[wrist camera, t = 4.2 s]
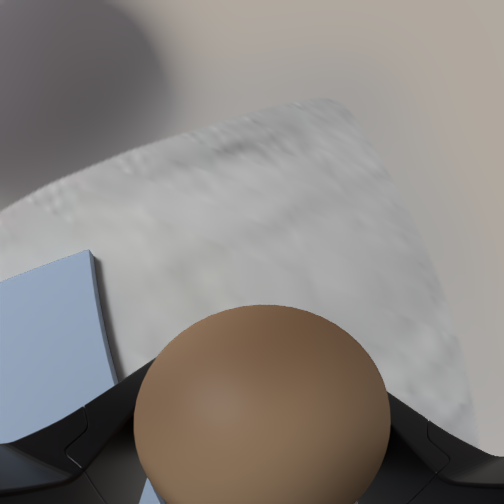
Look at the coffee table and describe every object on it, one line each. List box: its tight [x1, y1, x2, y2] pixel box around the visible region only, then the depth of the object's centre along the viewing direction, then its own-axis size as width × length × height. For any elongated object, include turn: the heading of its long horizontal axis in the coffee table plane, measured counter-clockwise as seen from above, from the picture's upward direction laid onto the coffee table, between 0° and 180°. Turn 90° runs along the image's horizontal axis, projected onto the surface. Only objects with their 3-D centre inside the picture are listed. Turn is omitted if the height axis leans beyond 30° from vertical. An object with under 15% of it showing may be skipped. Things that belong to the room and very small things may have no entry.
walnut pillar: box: [134, 305, 391, 504], centre depth 9 cm, size 5×5×10 cm
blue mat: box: [0, 249, 165, 504], centre depth 11 cm, size 16×16×1 cm
